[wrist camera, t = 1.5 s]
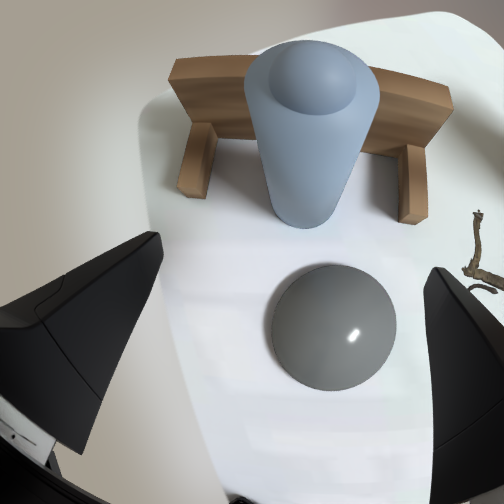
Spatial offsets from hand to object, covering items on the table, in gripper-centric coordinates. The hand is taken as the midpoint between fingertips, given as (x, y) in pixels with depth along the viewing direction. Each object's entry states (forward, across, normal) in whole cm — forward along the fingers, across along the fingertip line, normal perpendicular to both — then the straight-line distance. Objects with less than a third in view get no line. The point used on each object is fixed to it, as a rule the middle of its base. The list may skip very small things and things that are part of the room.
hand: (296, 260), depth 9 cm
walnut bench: (+15, 0, +2) cm, 15 cm away
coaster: (+7, -3, +11) cm, 13 cm away
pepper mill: (+13, 0, +4) cm, 14 cm away
